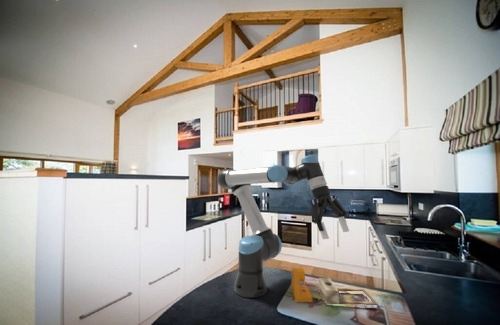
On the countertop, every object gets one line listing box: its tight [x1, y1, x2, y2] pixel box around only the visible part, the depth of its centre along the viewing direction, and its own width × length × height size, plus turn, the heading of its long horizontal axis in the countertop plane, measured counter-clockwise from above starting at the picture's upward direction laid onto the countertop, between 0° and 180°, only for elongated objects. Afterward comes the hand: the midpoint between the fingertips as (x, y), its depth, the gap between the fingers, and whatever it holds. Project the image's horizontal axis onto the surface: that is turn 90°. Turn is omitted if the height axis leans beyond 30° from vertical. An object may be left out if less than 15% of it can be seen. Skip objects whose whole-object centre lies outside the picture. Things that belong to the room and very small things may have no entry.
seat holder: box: [318, 277, 379, 306], centre depth 89 cm, size 20×12×6 cm, turn 85°
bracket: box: [290, 267, 313, 303], centre depth 91 cm, size 11×7×12 cm, turn 178°
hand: (336, 235), depth 87 cm, fingers open, 13 cm apart
